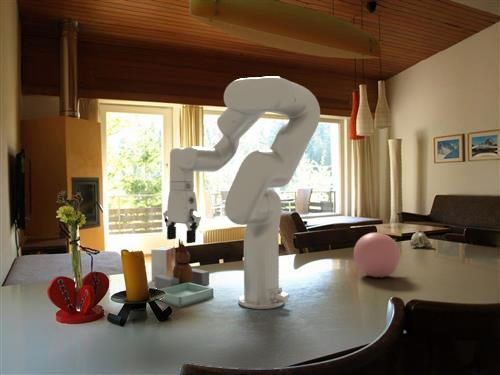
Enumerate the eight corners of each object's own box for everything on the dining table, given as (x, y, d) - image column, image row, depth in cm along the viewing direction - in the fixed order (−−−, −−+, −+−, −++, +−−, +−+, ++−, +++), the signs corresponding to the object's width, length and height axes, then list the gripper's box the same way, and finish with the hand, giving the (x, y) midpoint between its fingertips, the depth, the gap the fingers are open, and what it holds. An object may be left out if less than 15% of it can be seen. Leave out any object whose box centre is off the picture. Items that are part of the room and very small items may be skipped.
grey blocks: (209, 283, 130) (209, 271, 130) (171, 293, 118) (171, 280, 118) (193, 280, 135) (192, 268, 135) (155, 289, 123) (154, 276, 123)
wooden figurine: (171, 284, 129) (171, 238, 129) (189, 283, 131) (189, 237, 131) (175, 290, 122) (175, 241, 122) (194, 288, 124) (193, 240, 124)
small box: (166, 281, 134) (166, 250, 133) (151, 280, 135) (150, 249, 135) (175, 275, 141) (175, 246, 141) (161, 275, 143) (160, 245, 142)
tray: (213, 297, 115) (213, 288, 115) (180, 307, 105) (179, 297, 105) (188, 290, 122) (188, 282, 122) (154, 299, 113) (154, 290, 113)
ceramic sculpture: (429, 228, 207) (434, 233, 193) (429, 244, 208) (434, 251, 193) (407, 228, 210) (410, 233, 196) (407, 244, 211) (410, 250, 196)
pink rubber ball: (415, 275, 140) (415, 231, 140) (384, 284, 127) (384, 236, 127) (376, 268, 152) (376, 228, 152) (344, 276, 139) (344, 232, 139)
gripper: (208, 188, 123) (208, 242, 124) (174, 186, 135) (173, 236, 135) (190, 188, 118) (189, 245, 118) (155, 186, 129) (155, 239, 130)
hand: (181, 240), depth 127 cm, fingers open, 9 cm apart
